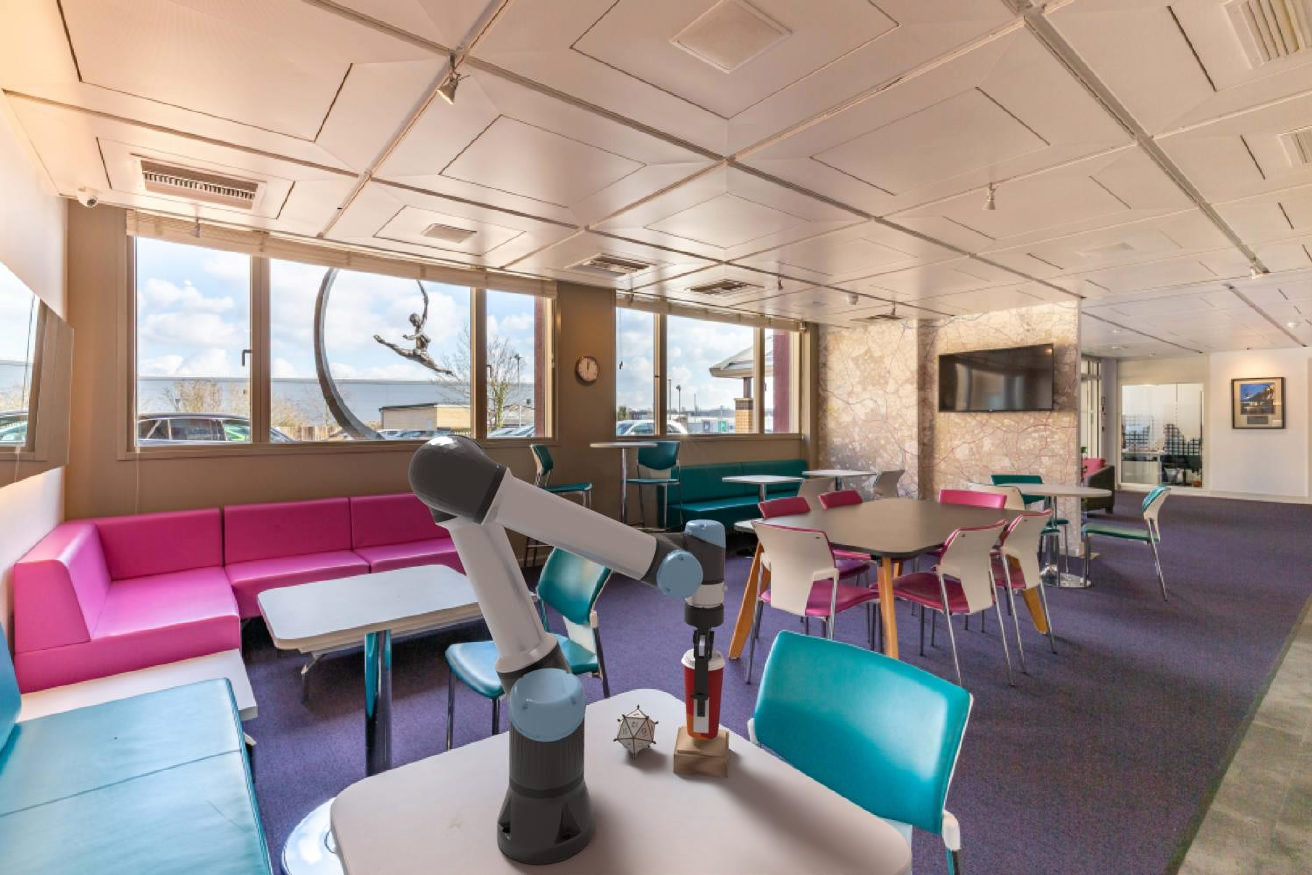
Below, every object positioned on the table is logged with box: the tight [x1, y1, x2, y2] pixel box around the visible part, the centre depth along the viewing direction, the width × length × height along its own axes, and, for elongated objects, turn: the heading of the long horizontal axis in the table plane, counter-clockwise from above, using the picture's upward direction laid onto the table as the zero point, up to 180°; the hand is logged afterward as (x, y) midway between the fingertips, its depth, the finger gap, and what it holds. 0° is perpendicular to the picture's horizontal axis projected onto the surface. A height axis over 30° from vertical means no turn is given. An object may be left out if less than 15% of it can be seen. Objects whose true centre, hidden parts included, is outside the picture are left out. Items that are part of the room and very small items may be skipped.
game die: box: [612, 703, 660, 760], centre depth 118 cm, size 9×8×10 cm
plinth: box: [672, 725, 730, 778], centre depth 116 cm, size 10×10×4 cm
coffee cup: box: [681, 648, 726, 740], centre depth 115 cm, size 8×8×15 cm
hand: (702, 721), depth 116 cm, fingers closed on coffee cup, 7 cm apart
